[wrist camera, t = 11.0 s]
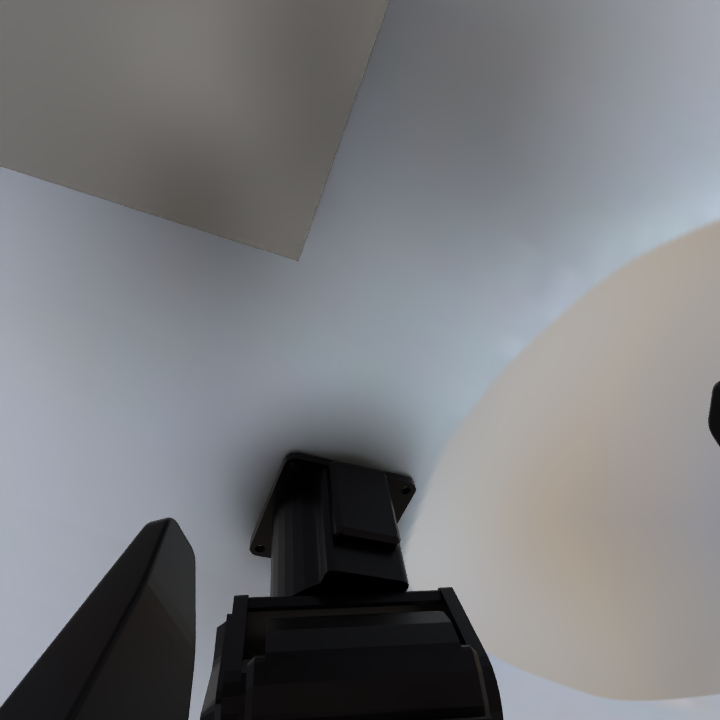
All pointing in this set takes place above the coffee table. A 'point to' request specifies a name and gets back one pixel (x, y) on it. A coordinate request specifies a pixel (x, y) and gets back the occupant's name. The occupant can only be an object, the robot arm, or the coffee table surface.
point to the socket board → (186, 105)
